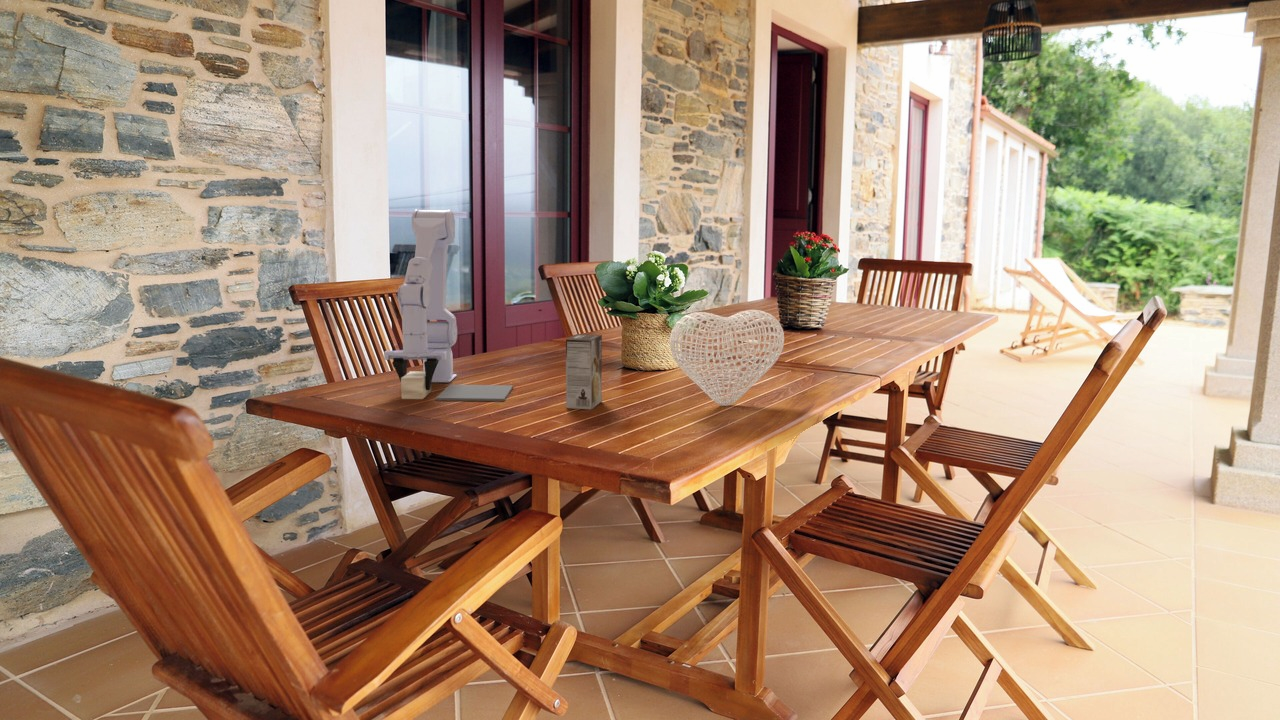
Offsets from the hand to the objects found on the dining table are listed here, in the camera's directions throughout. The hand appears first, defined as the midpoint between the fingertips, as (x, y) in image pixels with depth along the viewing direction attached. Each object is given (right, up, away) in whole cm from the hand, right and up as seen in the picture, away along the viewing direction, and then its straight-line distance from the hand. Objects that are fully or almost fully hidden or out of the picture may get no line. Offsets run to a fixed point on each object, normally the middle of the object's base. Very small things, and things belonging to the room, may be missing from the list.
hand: (416, 389), depth 218 cm
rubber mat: (+14, -1, +2) cm, 14 cm away
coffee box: (+41, -4, -8) cm, 42 cm away
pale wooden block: (0, -1, 0) cm, 1 cm away
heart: (+74, -4, -7) cm, 74 cm away
